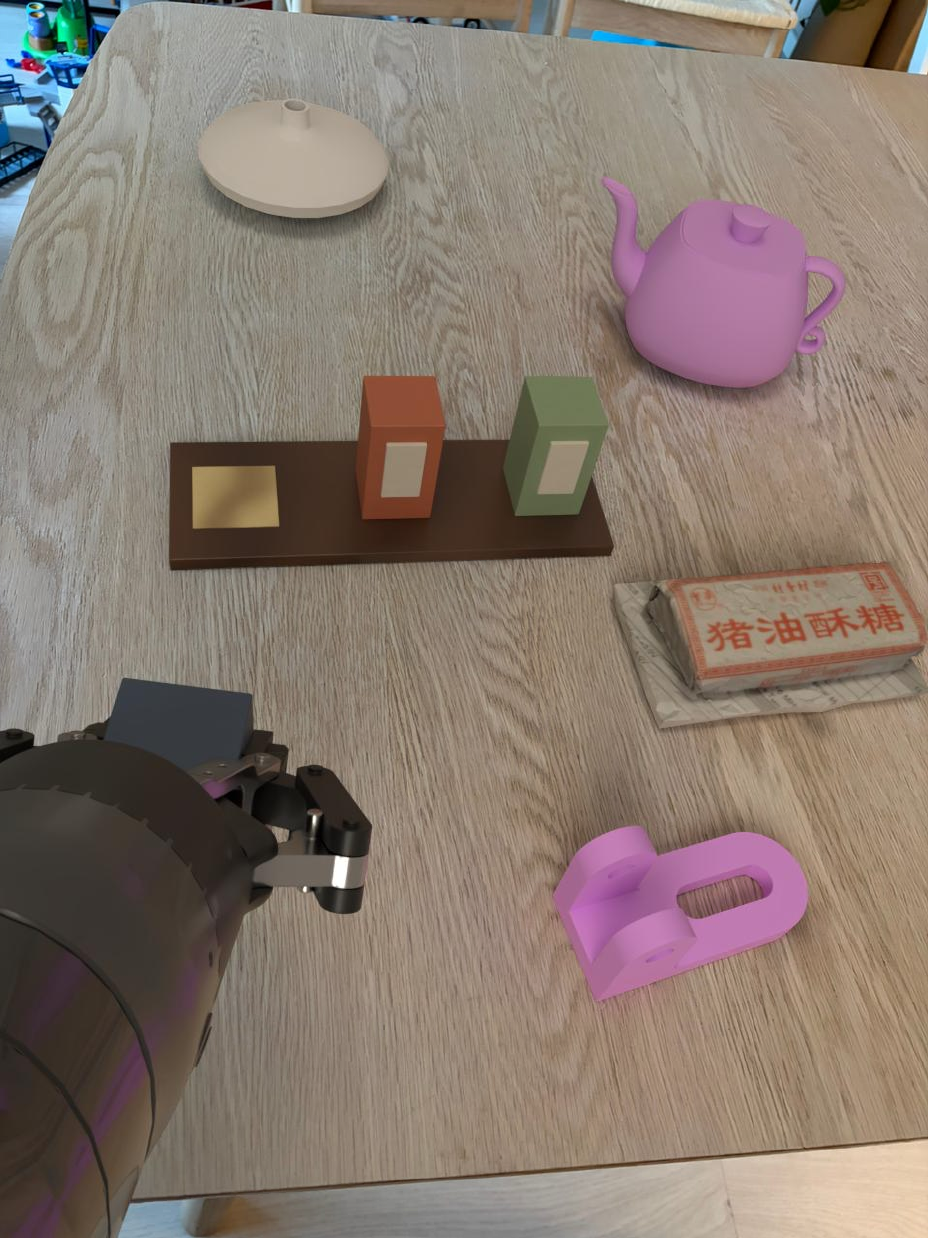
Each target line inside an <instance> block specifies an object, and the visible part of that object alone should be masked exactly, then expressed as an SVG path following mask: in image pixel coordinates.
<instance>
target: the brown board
mask: <svg viewBox="0 0 928 1238" xmlns="http://www.w3.org/2000/svg"><path fill="white" fill-rule="evenodd" d="M509 441H510V439H444V440H443V446H442V452H441V457H440V463H439V469H438V475H437V481H436V487H435V493H434V498H433V504H432V510H431V516H430V518H401V519H362V513H361V506H360V499H359V491H358V484H357V476H356V460H357V447H358V440H290V441H289V440H282V441H281V440H280V441H279V440H277V441H275V440H274V441H272V440H271V441H267V440H266V441H175V442H174V441H170V442H169V507H168V508H169V509H168V510H169V512H168V513H169V515H168V516H169V517H168V519H169V520H168V521H169V524H168V526H169V527H168V529H169V530H168V534H169V535H168V564H169V570H170V571H185V570H186V571H188V570H212V569H213V570H214V569H215V570H216V569H217V570H218V569H243V568H244V569H245V568H246V569H247V568H275V567H276V568H277V567H306V566H308V567H310V566H330V565H331V566H338V565H360V564H361V565H364V564H366V565H367V564H369V565H370V564H395V563H396V564H397V563H428V562H429V563H430V562H456V561H457V562H458V561H459V562H460V561H488V560H489V561H490V560H517V559H518V560H519V559H521V560H522V559H549V558H551V559H552V558H553V559H554V558H577V557H578V558H579V557H581V558H582V557H607V556H608V557H609V556H612V554H613V551H614V548H615V544H614V540H613V538H612V535H611V532H610V528H609V525H608V522H607V519H606V516H605V513H604V510H603V506H602V503H601V500H600V496H599V493H598V490H597V488H596V484H595V481H594V478H593V476H592V477H591V480H590V482H589V485H588V488H587V491H586V494H585V497H584V500H583V503H582V506H581V509H580V512H579V514H577V515H535V516H515V514H514V510H513V506H512V502H511V498H510V494H509V490H508V486H507V482H506V478H505V474H504V470H503V466H504V462H505V458H506V453H507V449H508V445H509Z"/></svg>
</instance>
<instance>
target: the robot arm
mask: <svg viewBox="0 0 928 1238" xmlns="http://www.w3.org/2000/svg"><path fill="white" fill-rule="evenodd" d="M110 717H111V715H110V716H109V717H108V718H107V719H105V720H104V721H103V722H100V721H98V722H95V723H91V724H88V725H87V726H86V727H84V729H82V730H77V729H76V730H75V729H74V730H70V731H67V732H61V733H59V734H58V735H57V741H54V742H49V743H46V744H42V745H35V738H36V736H35V734H34V733H32V732H31V731H26V730H23V729H21V728H15V727H14V728H8V729H4V730H3V729H2V730H0V1238H119V1235H120V1232H121V1229H122V1227H123V1224H124V1222H125V1218H126V1215H127V1213H128V1210H129V1207H130V1204H131V1201H132V1200H133V1197H134V1193H135V1191H136V1188H137V1185H138V1182H139V1180H140V1176H141V1174H142V1171H143V1168H144V1166H145V1164H146V1161H147V1160H148V1158H149V1157H150V1155H151V1153H152V1152H153V1150H154V1149H155V1147H156V1145H157V1144H158V1142H159V1140H160V1139H161V1137H162V1135H163V1133H164V1132H165V1129H166V1128H167V1126H168V1125H169V1123H170V1121H171V1118H172V1117H173V1116H174V1115H173V1114H174V1113H175V1111H176V1110H177V1107H178V1105H179V1103H180V1101H181V1099H182V1096H183V1094H184V1092H185V1089H186V1087H187V1084H188V1081H189V1079H190V1076H191V1075H192V1073H193V1071H194V1069H196V1068H197V1067H198V1066H199V1064H200V1061H201V1060H202V1057H203V1054H204V1052H205V1049H206V1047H207V1044H208V1041H209V1039H210V1035H211V1033H212V1028H213V1027H212V1021H213V1010H214V1006H215V1003H216V1000H217V997H218V994H219V991H220V988H221V985H222V983H223V979H224V976H225V973H226V970H227V967H228V964H229V961H230V958H231V955H232V953H233V949H234V946H235V943H236V941H237V937H238V935H239V931H240V929H241V926H242V924H243V923H242V922H243V921H244V918H245V916H246V915H247V914H248V913H250V912H251V911H255V910H256V909H258V908H259V907H261V906H263V905H264V904H265V903H266V902H267V901H268V899H269V898H270V897H271V895H272V893H273V891H274V888H296V889H297V891H298V892H299V893H302V894H311V893H313V895H314V897H315V899H316V901H317V903H318V906H319V907H320V908H321V909H323V910H324V911H326V912H329V913H332V914H336V915H351V914H355V913H358V912H360V911H361V909H362V906H363V900H364V899H363V898H364V897H363V896H364V892H365V891H364V890H365V884H366V877H367V876H366V875H367V868H368V861H369V855H370V847H371V840H372V832H373V824H372V823H371V821H370V820H369V819H368V817H367V815H365V813H364V812H363V810H362V809H361V808H360V806H359V805H358V803H357V802H356V801H355V799H354V798H353V796H352V795H351V794H350V792H349V791H348V790H347V789H346V787H345V786H344V784H343V783H342V781H341V780H340V779H339V777H338V776H337V774H336V773H335V772H334V770H332V769H330V768H327V767H324V766H323V765H319V764H309V765H302V766H301V765H300V766H299V767H297V768H296V772H295V775H293V774H291V773H288V772H287V770H288V763H289V761H288V760H289V753H290V748H289V747H288V746H287V745H285V744H281V743H273V742H274V731H272V730H266V729H265V730H264V729H254V728H253V729H254V733H253V735H252V736H251V738H250V740H249V742H248V744H247V746H246V748H245V749H244V751H243V753H242V758H240V759H238V760H234V759H230V758H225V757H221V756H215V757H213V758H211V759H209V760H207V761H205V762H203V763H201V764H199V765H197V766H195V767H193V768H191V769H189V770H187V771H184V770H182V769H181V768H179V767H178V766H176V765H175V764H173V763H171V762H170V761H168V760H166V759H164V758H162V757H160V756H158V755H156V754H154V753H152V752H149V751H147V750H144V749H141V748H138V747H135V746H132V745H128V744H124V743H120V742H113V741H107V740H103V739H104V736H105V733H106V730H107V726H108V723H109V720H110ZM273 827H274V828H275V827H276V828H279V829H283V830H287V831H288V836H287V840H286V841H281V842H278V839H277V837H276V835H275V833H274V832H273Z"/></svg>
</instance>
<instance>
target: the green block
mask: <svg viewBox="0 0 928 1238" xmlns="http://www.w3.org/2000/svg"><path fill="white" fill-rule="evenodd" d="M521 387H522V388H521V391H520V395H519V399H518V402H517V408H516V412H515V417H514V420H513V424H512V428H511V433H510V437H509V440H510V441H509V445H508V449H507V453H506V458H505V462H504V466H503V470H504V474H505V478H506V482H507V486H508V490H509V494H510V498H511V502H512V506H513V510H514V514H515V516H535V515H577V514H579V512H580V509H581V506H582V503H583V500H584V497H585V494H586V491H587V488H588V485H589V482H590V480H591V477H592V478H593V474H594V470H595V468H596V465H597V462H598V459H599V456H600V452H601V450H602V448H603V447H602V446H603V444H604V441H605V438H606V435H607V433H608V429H609V426H610V424H609V421H608V418H607V415H606V412H605V409H604V406H603V404H602V403H603V402H602V400H601V397H600V395H599V392H598V389H597V386H596V383H595V380H594V378H593V376H559V375H558V376H555V375H554V376H553V375H551V376H550V375H549V376H547V375H546V376H545V375H544V376H541V375H537V376H535V375H534V376H533V375H532V376H531V375H526V376H525V375H524V379H523V383H522V386H521Z"/></svg>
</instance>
